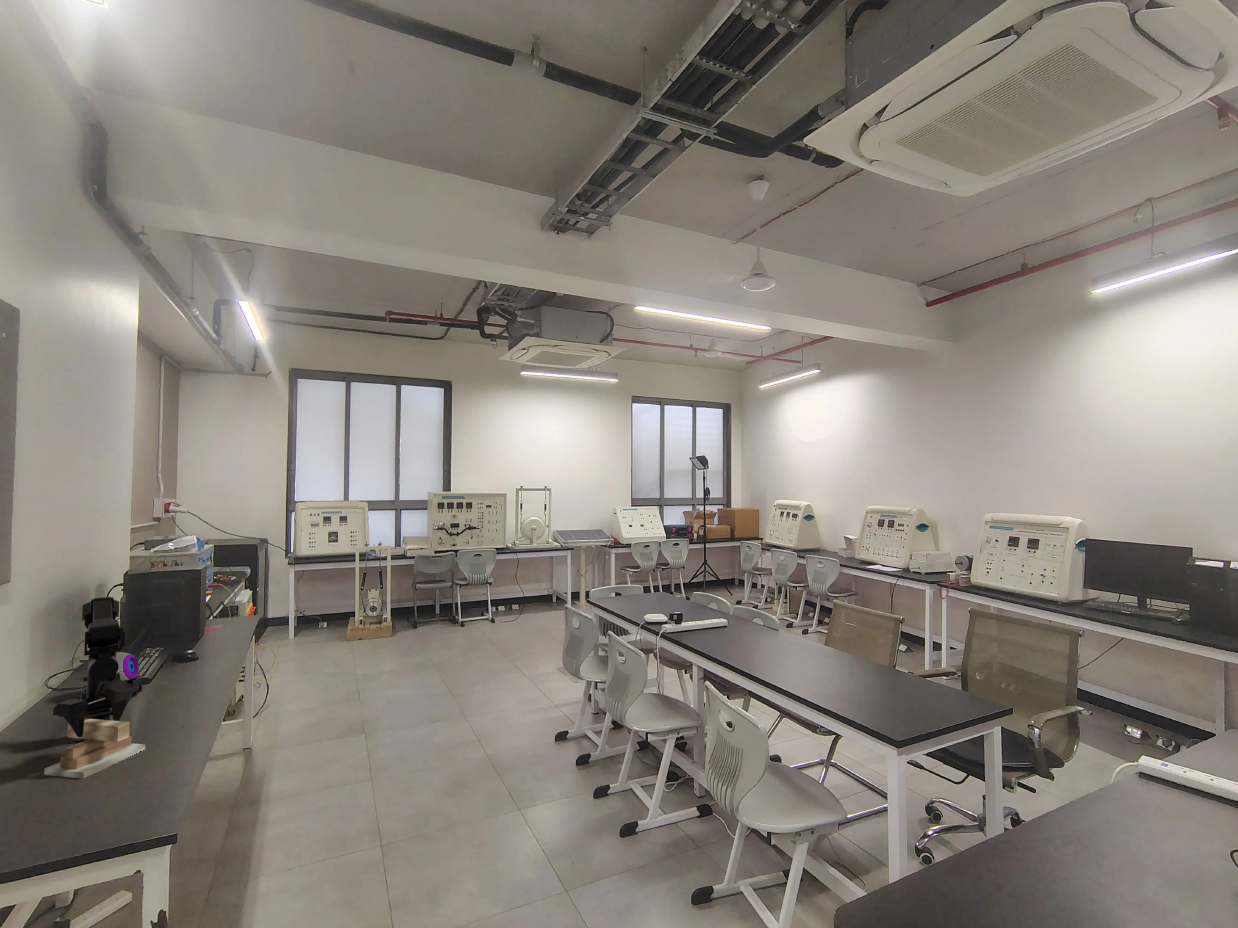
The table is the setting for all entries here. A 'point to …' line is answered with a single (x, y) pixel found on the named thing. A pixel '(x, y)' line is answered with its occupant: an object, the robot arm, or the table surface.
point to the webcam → (127, 666)
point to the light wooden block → (102, 730)
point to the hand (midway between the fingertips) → (98, 729)
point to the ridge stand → (92, 757)
